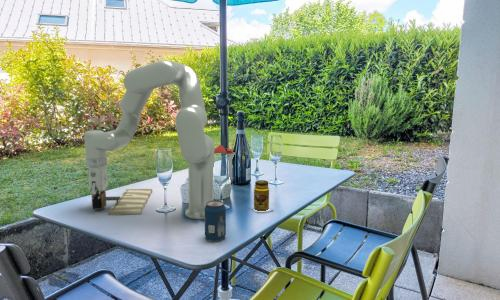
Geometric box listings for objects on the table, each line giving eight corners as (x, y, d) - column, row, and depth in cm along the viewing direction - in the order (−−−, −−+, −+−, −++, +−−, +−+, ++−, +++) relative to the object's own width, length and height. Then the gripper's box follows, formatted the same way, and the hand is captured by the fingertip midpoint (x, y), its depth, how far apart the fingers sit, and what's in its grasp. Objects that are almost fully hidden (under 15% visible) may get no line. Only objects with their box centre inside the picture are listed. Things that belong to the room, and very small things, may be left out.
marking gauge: (118, 208, 146) (117, 194, 145) (92, 209, 145) (91, 194, 144) (121, 204, 151) (120, 190, 150) (96, 205, 150) (95, 191, 149)
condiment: (257, 213, 145) (257, 184, 143) (248, 207, 153) (248, 179, 151) (273, 211, 148) (274, 182, 146) (263, 205, 156) (264, 177, 154)
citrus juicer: (198, 180, 193) (198, 143, 189) (230, 178, 199) (230, 141, 195) (205, 188, 179) (205, 148, 175) (239, 185, 184) (239, 146, 181)
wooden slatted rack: (140, 213, 143) (140, 210, 143) (109, 214, 142) (108, 210, 142) (152, 191, 173) (152, 188, 172) (126, 192, 171) (125, 189, 171)
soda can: (209, 232, 126) (209, 199, 124) (228, 235, 124) (228, 201, 122) (201, 240, 120) (200, 205, 117) (221, 243, 118) (221, 207, 116)
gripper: (100, 166, 137) (103, 213, 140) (112, 157, 153) (114, 199, 157) (79, 166, 136) (82, 213, 139) (93, 157, 153) (96, 199, 156)
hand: (99, 205), depth 148 cm, fingers closed on marking gauge, 5 cm apart
